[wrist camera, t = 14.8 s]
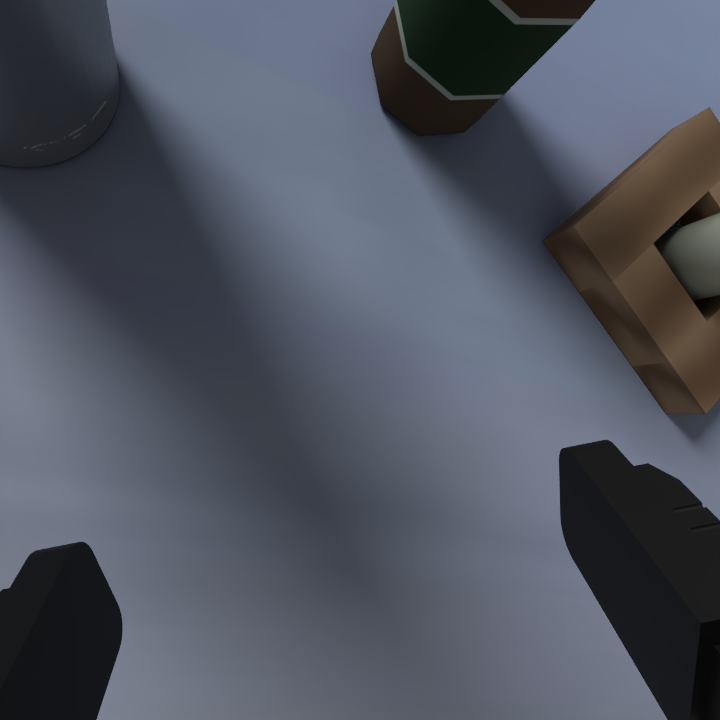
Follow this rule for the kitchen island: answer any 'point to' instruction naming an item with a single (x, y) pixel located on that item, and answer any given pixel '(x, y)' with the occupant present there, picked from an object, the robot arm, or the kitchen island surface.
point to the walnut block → (652, 265)
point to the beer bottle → (462, 55)
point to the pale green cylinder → (694, 256)
